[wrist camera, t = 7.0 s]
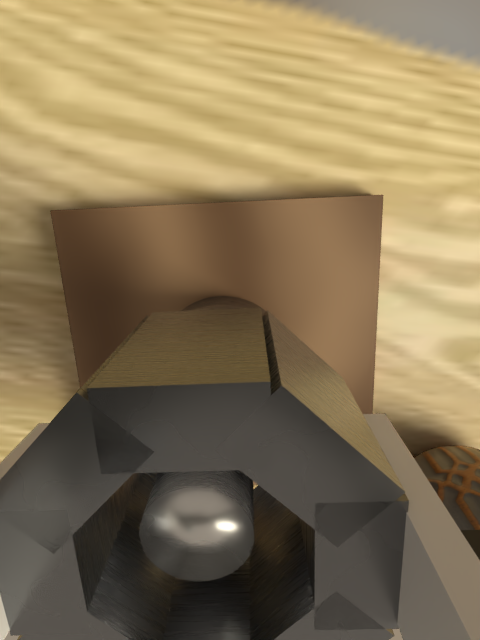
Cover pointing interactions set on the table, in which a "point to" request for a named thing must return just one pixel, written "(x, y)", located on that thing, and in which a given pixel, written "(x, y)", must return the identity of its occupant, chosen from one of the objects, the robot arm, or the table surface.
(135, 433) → the ring
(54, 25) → the table surface
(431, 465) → the vase
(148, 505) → the shaft
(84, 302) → the base board
